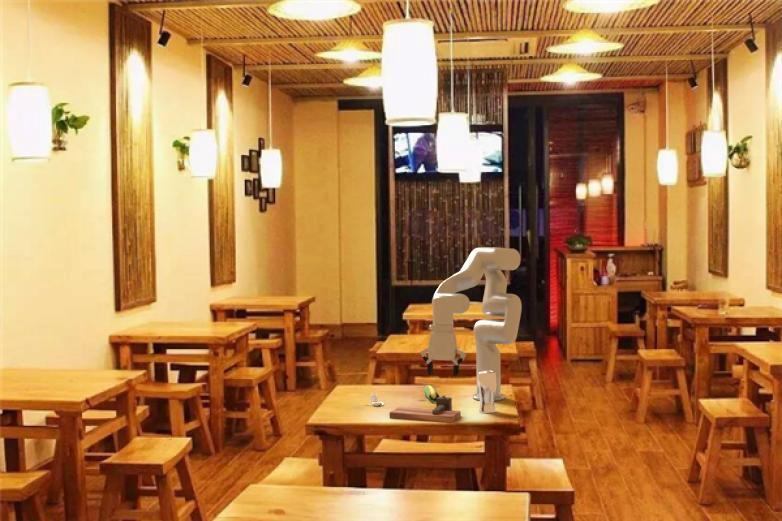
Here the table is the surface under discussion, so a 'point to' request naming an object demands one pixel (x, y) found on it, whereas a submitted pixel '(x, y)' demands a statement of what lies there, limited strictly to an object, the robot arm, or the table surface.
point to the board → (424, 414)
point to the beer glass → (487, 390)
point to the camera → (442, 404)
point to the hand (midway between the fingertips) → (443, 375)
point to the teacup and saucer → (375, 400)
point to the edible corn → (431, 393)
